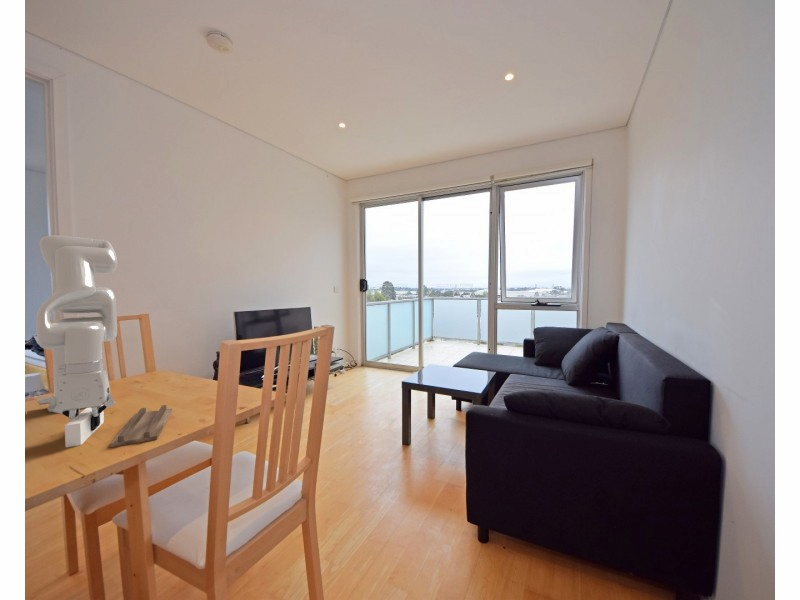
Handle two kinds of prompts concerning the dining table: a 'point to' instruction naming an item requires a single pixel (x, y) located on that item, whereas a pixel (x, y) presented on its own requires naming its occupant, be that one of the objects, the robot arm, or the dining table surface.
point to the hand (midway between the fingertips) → (86, 429)
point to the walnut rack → (143, 427)
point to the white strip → (80, 428)
